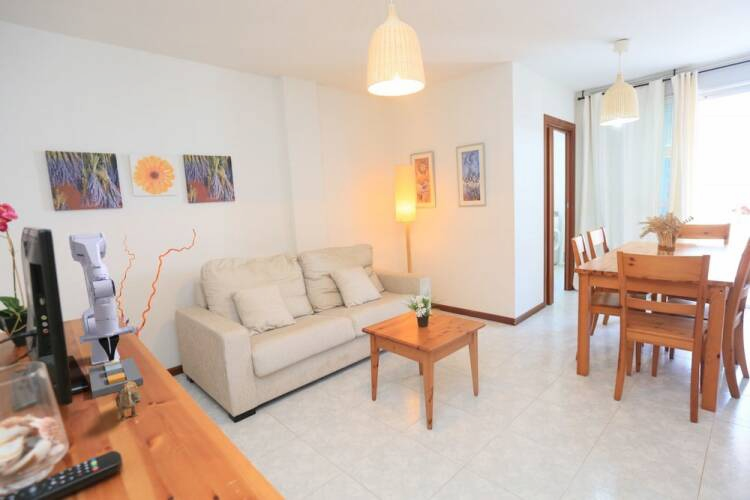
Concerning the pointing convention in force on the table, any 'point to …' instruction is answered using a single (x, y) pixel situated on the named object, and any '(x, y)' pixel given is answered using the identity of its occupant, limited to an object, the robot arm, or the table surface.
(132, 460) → the table surface
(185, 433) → the table surface
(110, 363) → the cream button
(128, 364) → the button board
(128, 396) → the lion figurine
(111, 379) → the orange button
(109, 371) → the slate-blue button
